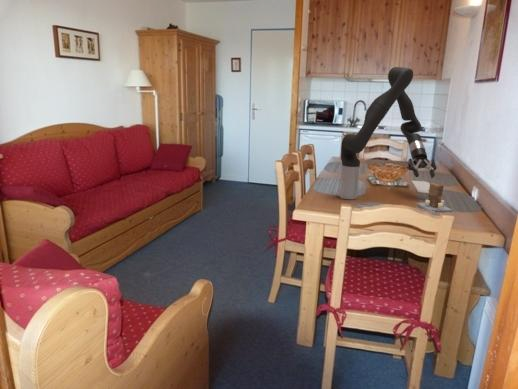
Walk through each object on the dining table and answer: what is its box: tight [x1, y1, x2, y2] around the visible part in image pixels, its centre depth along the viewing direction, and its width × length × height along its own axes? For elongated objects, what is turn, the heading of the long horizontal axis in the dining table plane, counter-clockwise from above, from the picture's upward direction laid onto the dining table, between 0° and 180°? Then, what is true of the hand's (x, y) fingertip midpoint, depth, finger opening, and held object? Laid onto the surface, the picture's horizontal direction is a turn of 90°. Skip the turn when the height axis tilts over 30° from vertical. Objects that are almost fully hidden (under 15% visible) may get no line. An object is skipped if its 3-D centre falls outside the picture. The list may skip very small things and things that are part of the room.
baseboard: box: [410, 180, 430, 195], centre depth 241 cm, size 31×3×12 cm
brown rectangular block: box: [427, 182, 444, 208], centre depth 199 cm, size 4×6×11 cm, turn 7°
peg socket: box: [416, 198, 453, 213], centre depth 199 cm, size 12×12×4 cm
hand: (425, 176), depth 207 cm, fingers open, 8 cm apart
